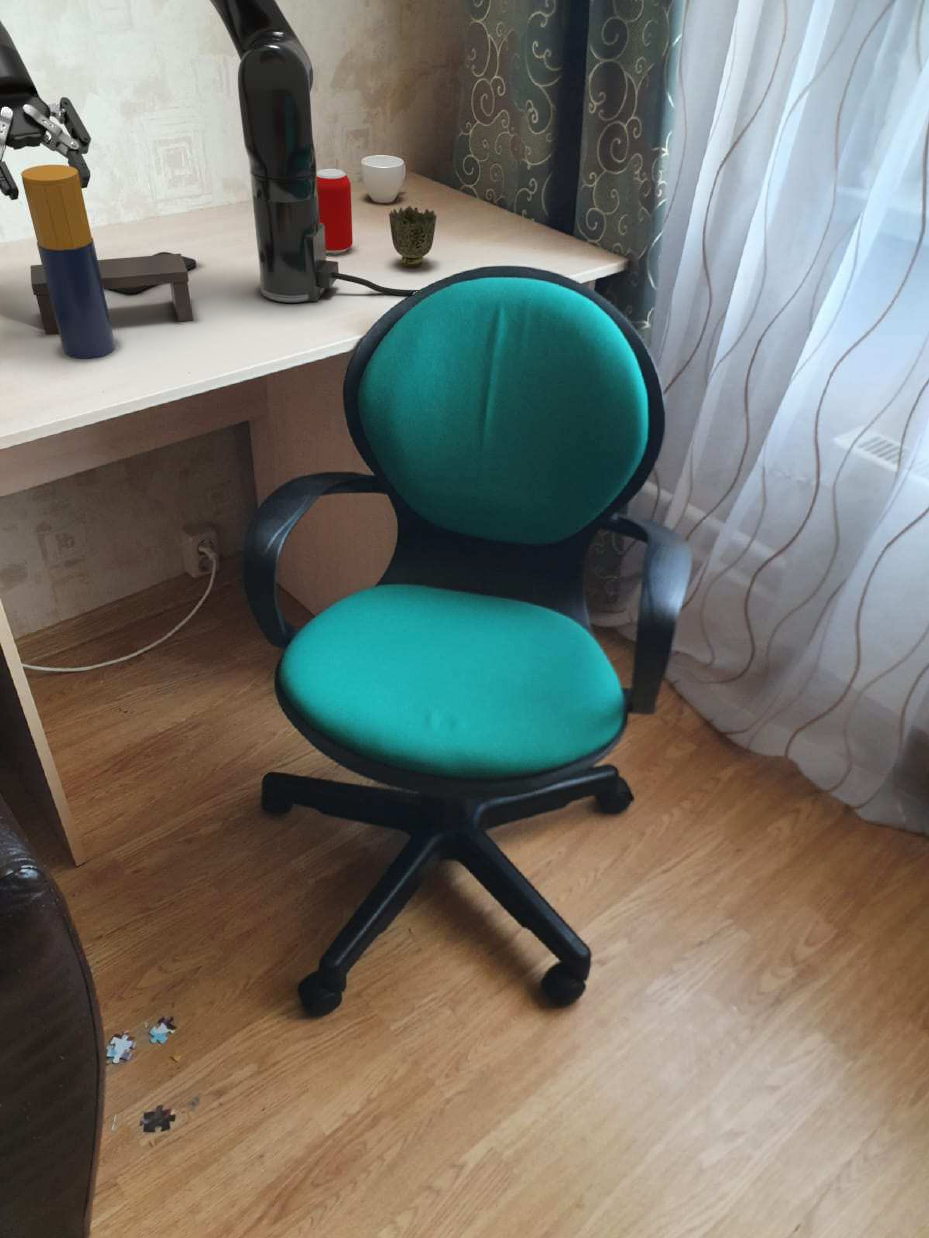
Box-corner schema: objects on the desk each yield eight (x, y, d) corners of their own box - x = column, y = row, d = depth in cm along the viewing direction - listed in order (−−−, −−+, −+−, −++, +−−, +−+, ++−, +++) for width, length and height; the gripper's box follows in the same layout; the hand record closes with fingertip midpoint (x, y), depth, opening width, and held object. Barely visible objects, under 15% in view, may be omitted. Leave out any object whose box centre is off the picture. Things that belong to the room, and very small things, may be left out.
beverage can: (308, 247, 158) (303, 171, 150) (338, 240, 161) (335, 165, 153) (329, 258, 155) (325, 180, 147) (360, 251, 158) (358, 174, 150)
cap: (100, 235, 119) (87, 167, 114) (76, 252, 115) (61, 182, 109) (54, 230, 120) (38, 162, 115) (28, 247, 115) (10, 177, 110)
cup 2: (443, 262, 156) (444, 211, 150) (422, 276, 150) (423, 224, 145) (402, 253, 158) (402, 203, 153) (381, 267, 153) (380, 216, 147)
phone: (199, 260, 149) (131, 290, 139) (200, 265, 150) (132, 295, 140) (162, 250, 152) (93, 279, 142) (163, 256, 152) (94, 284, 142)
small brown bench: (188, 301, 139) (180, 253, 135) (194, 320, 134) (187, 271, 130) (42, 315, 134) (30, 265, 129) (44, 335, 129) (31, 284, 124)
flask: (124, 340, 129) (96, 206, 117) (101, 361, 124) (70, 223, 112) (78, 335, 129) (46, 201, 118) (53, 355, 124) (18, 217, 113)
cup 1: (353, 199, 178) (352, 161, 174) (388, 188, 184) (388, 150, 180) (385, 209, 175) (384, 169, 170) (419, 197, 181) (420, 159, 177)
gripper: (-74, 48, 106) (-7, 182, 107) (51, 37, 114) (113, 163, 115) (-75, 91, 113) (-11, 218, 114) (44, 78, 120) (102, 197, 121)
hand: (51, 190), depth 114 cm, fingers open, 8 cm apart
